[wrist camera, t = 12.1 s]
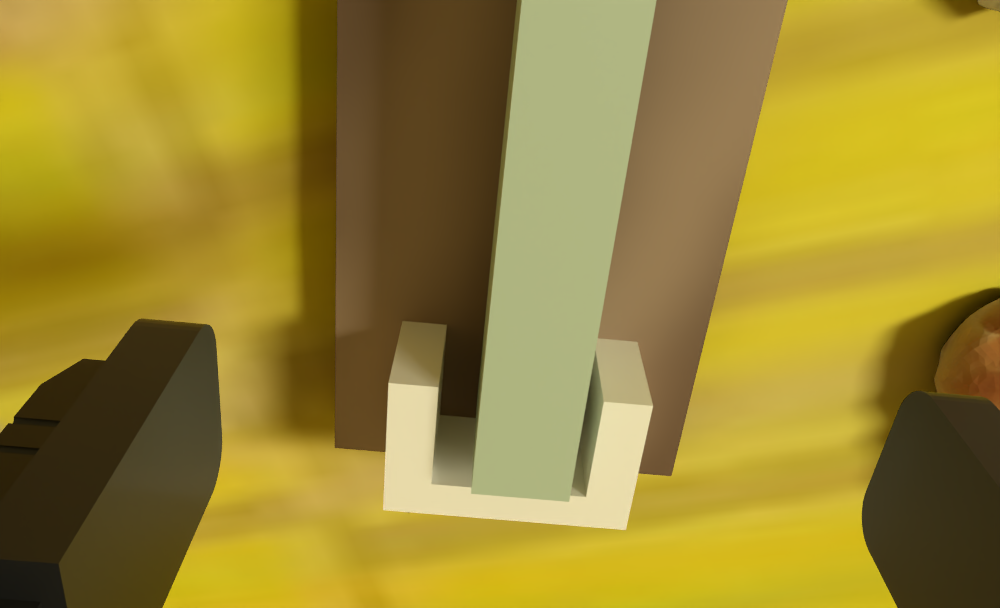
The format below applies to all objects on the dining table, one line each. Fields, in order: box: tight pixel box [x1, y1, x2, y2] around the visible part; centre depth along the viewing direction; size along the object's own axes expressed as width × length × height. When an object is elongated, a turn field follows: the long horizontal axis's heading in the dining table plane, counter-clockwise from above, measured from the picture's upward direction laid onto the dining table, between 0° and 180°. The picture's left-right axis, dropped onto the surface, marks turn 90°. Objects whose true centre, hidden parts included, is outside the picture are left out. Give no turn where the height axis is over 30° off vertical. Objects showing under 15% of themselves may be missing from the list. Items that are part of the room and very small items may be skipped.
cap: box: [383, 321, 653, 530], centre depth 23 cm, size 6×4×3 cm, turn 85°
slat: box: [471, 0, 657, 502], centre depth 19 cm, size 2×16×4 cm, turn 174°
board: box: [335, 0, 788, 476], centre depth 21 cm, size 10×21×2 cm, turn 175°
